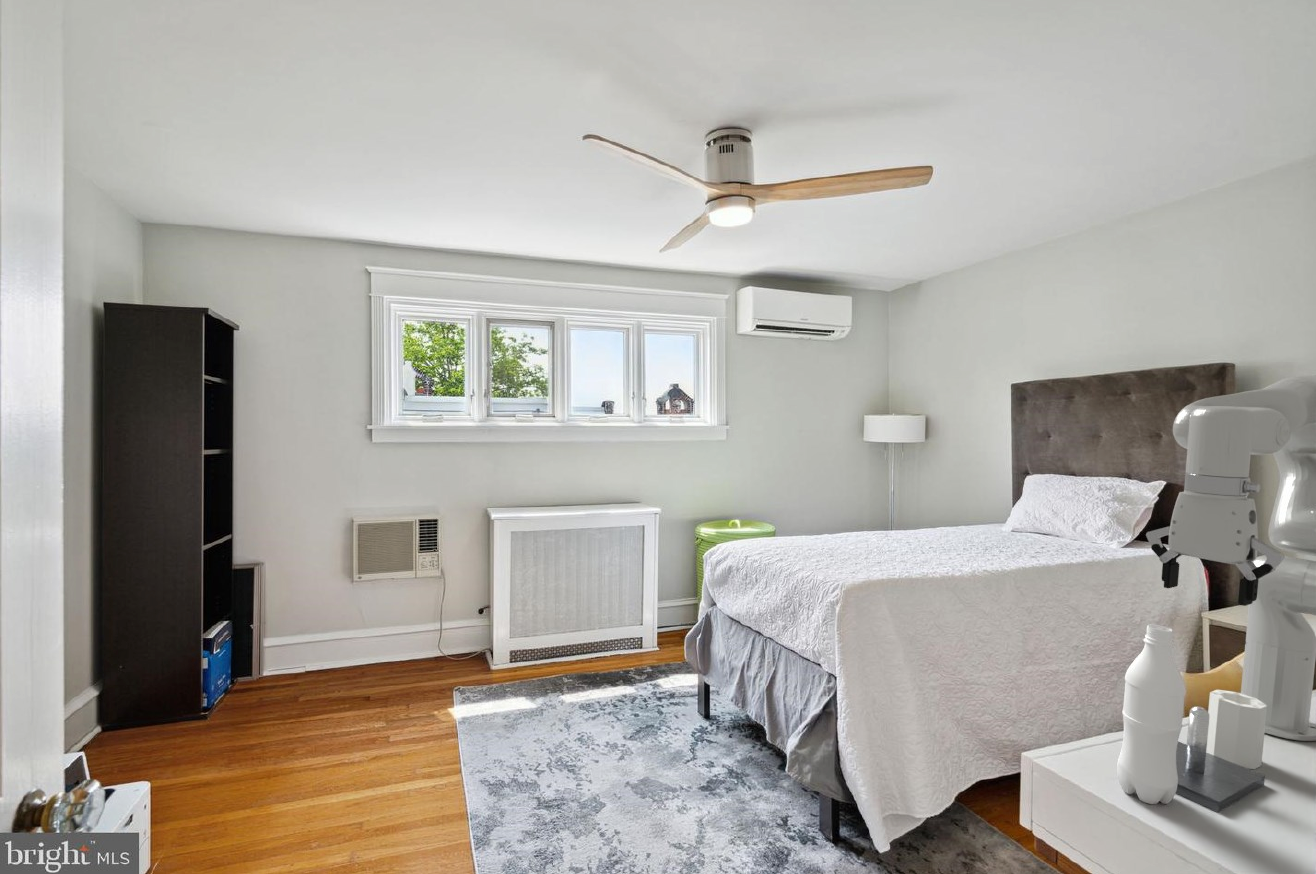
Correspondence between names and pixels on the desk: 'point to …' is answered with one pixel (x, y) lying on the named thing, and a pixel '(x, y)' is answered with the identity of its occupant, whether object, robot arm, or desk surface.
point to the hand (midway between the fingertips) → (1206, 595)
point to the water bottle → (1152, 720)
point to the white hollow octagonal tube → (1236, 728)
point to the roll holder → (1210, 769)
